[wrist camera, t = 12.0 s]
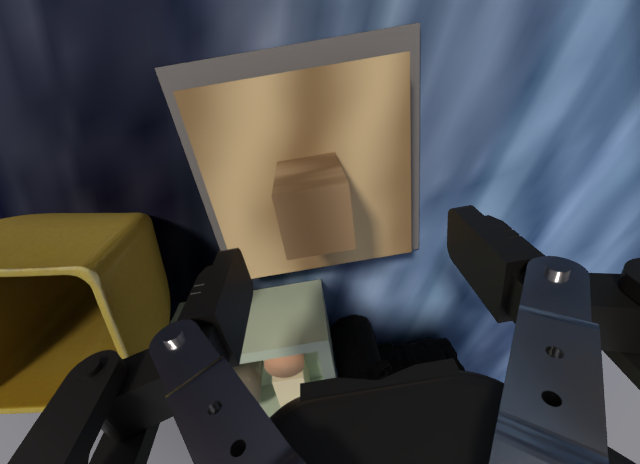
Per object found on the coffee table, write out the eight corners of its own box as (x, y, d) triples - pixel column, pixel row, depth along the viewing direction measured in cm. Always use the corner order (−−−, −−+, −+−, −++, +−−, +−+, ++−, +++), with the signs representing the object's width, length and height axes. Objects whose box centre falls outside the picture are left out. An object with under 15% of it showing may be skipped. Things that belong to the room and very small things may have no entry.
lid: (397, 52, 17) (457, 47, 11) (402, 237, 22) (443, 303, 16) (185, 88, 17) (123, 104, 11) (242, 263, 22) (223, 339, 16)
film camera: (449, 394, 33) (499, 500, 25) (359, 416, 33) (380, 526, 25) (433, 284, 25) (497, 384, 17) (319, 315, 26) (330, 425, 18)
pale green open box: (320, 279, 24) (328, 340, 19) (338, 372, 29) (347, 439, 24) (179, 302, 24) (148, 369, 19) (222, 391, 29) (206, 462, 24)
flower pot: (74, 297, 23) (-39, 419, 15) (23, 186, 19) (-167, 273, 11) (196, 294, 24) (148, 408, 16) (173, 185, 20) (92, 267, 12)
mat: (418, 23, 17) (420, 22, 16) (417, 246, 23) (418, 248, 23) (156, 68, 17) (154, 68, 16) (231, 277, 23) (231, 280, 23)
